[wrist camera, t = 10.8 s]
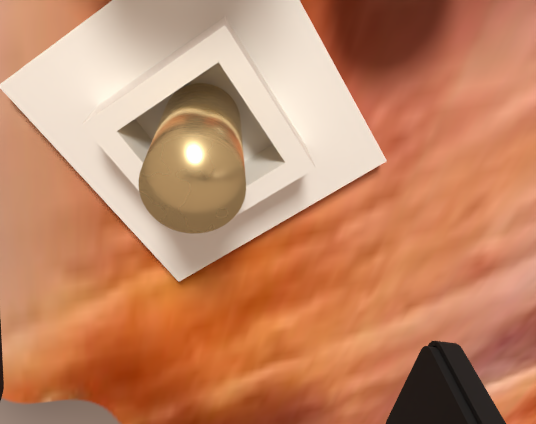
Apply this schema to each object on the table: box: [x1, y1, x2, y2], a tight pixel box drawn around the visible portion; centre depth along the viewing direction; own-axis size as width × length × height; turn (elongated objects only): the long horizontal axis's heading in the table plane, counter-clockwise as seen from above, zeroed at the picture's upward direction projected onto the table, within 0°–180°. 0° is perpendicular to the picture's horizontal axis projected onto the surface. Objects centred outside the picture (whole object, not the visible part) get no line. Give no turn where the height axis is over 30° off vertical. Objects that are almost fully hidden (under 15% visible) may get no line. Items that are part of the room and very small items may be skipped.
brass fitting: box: [139, 83, 246, 234], centre depth 24 cm, size 4×4×9 cm
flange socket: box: [0, 0, 387, 282], centre depth 27 cm, size 16×16×5 cm
